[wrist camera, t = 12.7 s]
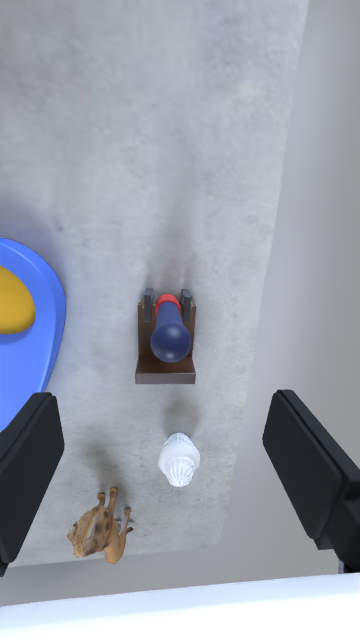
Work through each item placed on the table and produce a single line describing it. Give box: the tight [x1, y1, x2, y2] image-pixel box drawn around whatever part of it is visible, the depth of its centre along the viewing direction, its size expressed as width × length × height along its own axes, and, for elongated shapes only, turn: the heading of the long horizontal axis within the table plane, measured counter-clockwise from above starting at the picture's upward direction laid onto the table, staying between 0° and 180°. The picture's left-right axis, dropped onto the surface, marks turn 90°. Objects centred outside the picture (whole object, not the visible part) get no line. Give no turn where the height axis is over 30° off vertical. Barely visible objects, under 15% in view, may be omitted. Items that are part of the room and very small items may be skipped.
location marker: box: [0, 237, 66, 431], centre depth 27 cm, size 13×3×25 cm
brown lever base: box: [135, 288, 196, 384], centre depth 27 cm, size 10×7×5 cm
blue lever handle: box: [151, 294, 191, 363], centre depth 20 cm, size 14×3×3 cm
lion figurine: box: [67, 488, 133, 564], centre depth 36 cm, size 15×5×9 cm, turn 24°
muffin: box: [158, 432, 200, 487], centre depth 33 cm, size 6×6×7 cm
